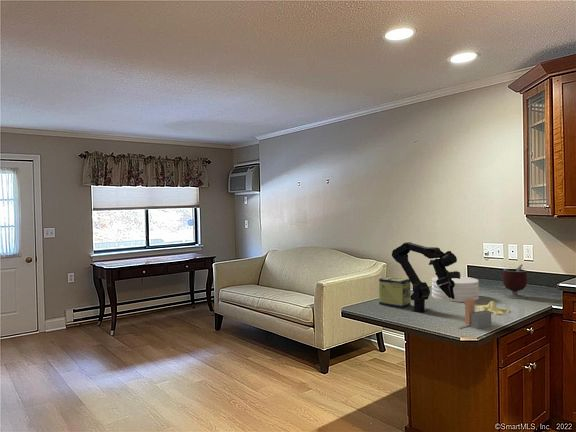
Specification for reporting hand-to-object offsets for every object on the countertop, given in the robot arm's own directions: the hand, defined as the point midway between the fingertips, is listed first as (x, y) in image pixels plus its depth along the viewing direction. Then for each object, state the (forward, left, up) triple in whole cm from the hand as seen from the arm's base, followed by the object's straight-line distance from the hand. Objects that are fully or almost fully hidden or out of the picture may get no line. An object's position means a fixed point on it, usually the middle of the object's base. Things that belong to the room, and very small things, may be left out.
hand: (452, 298), depth 225 cm
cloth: (-29, +13, -12) cm, 34 cm away
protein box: (-16, -37, -11) cm, 42 cm away
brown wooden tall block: (+5, +10, -11) cm, 15 cm away
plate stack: (-57, -13, -11) cm, 59 cm away
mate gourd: (-78, +19, -11) cm, 81 cm away
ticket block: (+10, +13, -11) cm, 20 cm away
